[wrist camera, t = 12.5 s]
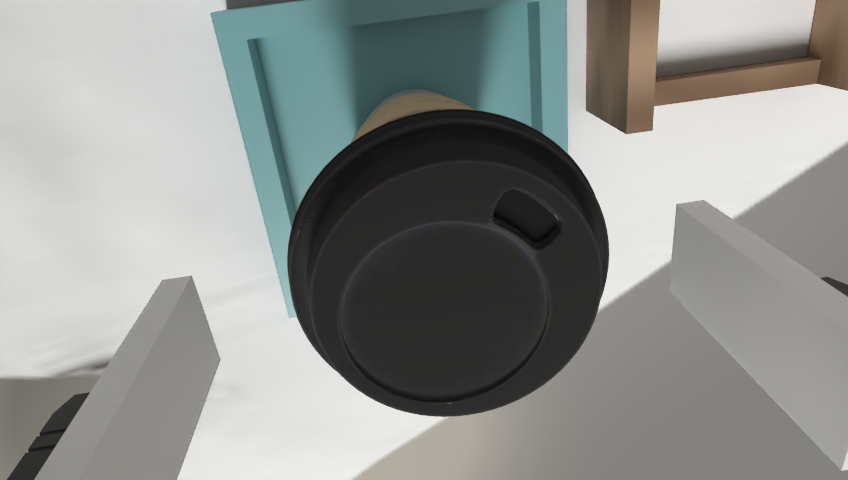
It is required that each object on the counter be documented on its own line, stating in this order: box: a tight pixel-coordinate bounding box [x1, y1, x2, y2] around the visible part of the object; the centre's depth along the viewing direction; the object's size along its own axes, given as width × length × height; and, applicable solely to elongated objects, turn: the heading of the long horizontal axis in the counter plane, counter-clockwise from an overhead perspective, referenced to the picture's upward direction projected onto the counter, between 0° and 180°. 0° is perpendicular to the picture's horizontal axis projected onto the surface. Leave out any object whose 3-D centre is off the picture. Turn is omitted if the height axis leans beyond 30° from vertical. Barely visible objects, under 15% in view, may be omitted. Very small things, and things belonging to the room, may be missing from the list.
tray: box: [210, 0, 568, 318], centre depth 28 cm, size 15×15×3 cm
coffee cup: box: [287, 89, 609, 417], centre depth 22 cm, size 9×9×15 cm
